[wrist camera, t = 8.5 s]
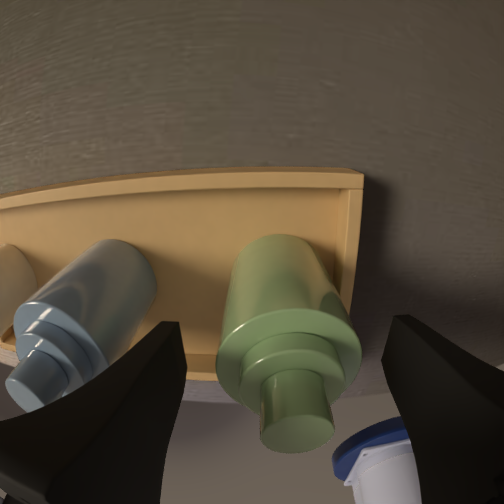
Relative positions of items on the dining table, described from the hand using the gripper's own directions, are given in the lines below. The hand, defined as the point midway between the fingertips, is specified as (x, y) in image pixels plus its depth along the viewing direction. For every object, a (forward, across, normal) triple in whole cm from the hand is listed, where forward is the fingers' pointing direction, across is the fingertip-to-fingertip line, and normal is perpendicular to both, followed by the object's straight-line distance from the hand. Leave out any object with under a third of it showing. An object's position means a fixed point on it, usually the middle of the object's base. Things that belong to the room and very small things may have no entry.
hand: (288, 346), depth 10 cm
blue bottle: (+5, +8, 0) cm, 9 cm away
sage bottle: (+5, 0, 0) cm, 5 cm away
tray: (+5, +8, 0) cm, 10 cm away
